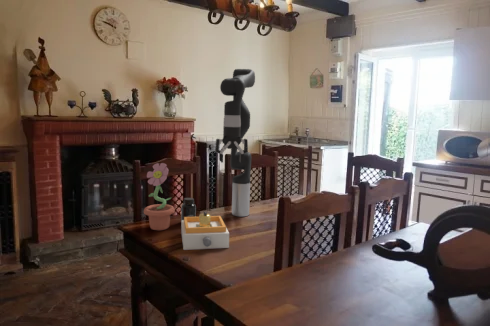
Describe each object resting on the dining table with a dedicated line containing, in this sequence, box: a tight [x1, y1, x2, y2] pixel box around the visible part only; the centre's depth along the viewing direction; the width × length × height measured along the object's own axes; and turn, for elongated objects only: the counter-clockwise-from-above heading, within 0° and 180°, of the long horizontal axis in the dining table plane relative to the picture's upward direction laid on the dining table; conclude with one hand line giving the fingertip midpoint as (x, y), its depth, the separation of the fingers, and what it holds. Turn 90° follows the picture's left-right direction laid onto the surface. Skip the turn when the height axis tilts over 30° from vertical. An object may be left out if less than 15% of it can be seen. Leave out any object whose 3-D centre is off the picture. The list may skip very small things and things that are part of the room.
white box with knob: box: [180, 215, 230, 251], centre depth 158 cm, size 23×18×8 cm
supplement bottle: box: [180, 197, 197, 221], centre depth 182 cm, size 7×7×12 cm
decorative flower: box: [143, 162, 176, 231], centre depth 172 cm, size 15×14×30 cm
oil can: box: [198, 211, 212, 227], centre depth 159 cm, size 5×5×10 cm
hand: (231, 162), depth 169 cm, fingers open, 8 cm apart
